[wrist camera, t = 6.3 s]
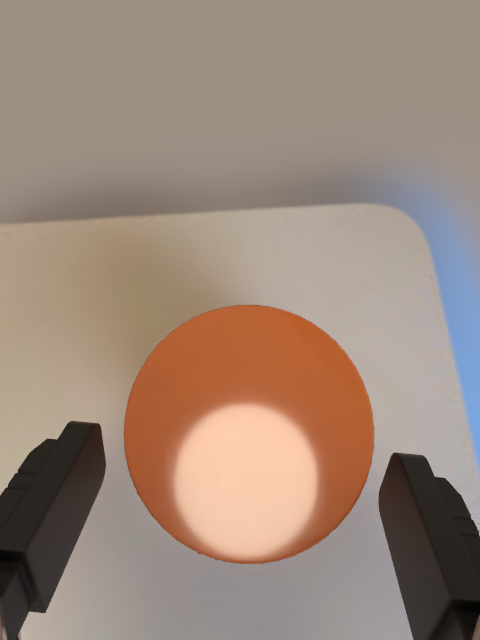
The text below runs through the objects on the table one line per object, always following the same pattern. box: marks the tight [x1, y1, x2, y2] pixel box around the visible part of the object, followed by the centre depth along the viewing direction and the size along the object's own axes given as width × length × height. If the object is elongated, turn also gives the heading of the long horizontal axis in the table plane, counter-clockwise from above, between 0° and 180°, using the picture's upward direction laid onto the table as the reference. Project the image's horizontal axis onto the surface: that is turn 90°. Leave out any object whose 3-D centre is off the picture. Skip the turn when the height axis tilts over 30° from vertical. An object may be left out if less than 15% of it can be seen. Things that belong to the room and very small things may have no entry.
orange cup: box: [124, 305, 374, 564], centre depth 14 cm, size 6×6×8 cm
